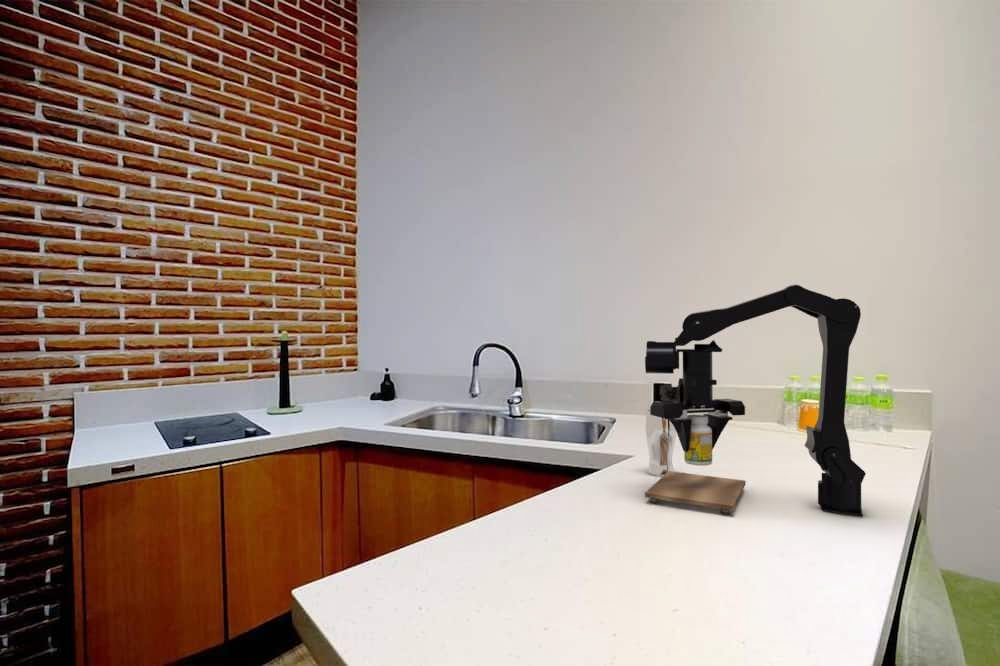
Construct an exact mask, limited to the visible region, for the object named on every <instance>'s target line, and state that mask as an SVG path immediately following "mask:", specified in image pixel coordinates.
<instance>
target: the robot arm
mask: <svg viewBox="0 0 1000 666" xmlns="http://www.w3.org/2000/svg"><path fill="white" fill-rule="evenodd" d="M790 307H792V308H794V309H796V310H798V311H799V312H802V313H804V314H806V315H808V316H810V317H811V318H812V317H813V318H815V319H816V320H817V325H818V331H819V337H820V340H821V342H822V358H821V359H822V361H821V374H820V376H821V377H820V387H819V388H820V389H819V401H818V402H819V403H818V404H819V406H818V418H817V420H816V422H815V424H814V426H810V425H807V426H806V427H805V429H806V441H805V444H804V447H805V448H807V450H808V454H809V456H810V458H812V460H813V461H814V462H815V463H817V465H819V466H820V469H821V471H822V472H821V480H820V479H819V480H817V504H818V505H819V506H820V511H824V512H829V513H836V514H844V515H852V516H857V517H862V516H863V517H864V514H863V510H862V483H863V481H864V478H865V476H866V474H867V473H866V471H865V470H864V469H862V467H860V466H859V465H858V464H857V463H856V462H855V461H854V460H852V454H851V447H850V440H849V436H848V432H847V429H846V428H847V427H846V425H845V414H846V401H847V400H846V399H847V385H848V373H849V372H848V370H849V356H850V355H849V354H850V348H851V345H852V343H853V340H854V338H855V336H856V334H857V330H858V327H859V323H860V320H861V315H862V313H861V308H860V306H859V305H858V304H857V303H856V302H855V301H853V300H851V299H848V298H844V297H842V298H836V299H835V298H833V297H832V296H828V295H825V294H822V293H820V292H816V291H814V290H810V289H808V288H805V287H803V286H801V285H799V284H790V285H788V286H786V287H784V288H782V289H780V290H776V291H774V292H770V293H767V294H764V295H761V296H759V297H756V298H752V299H749V300H746V301H743V302H740V303H737V304H734V305H732V306H729V307H724V308H719V309H718V308H717V309H711V310H710V309H709V310H704V311H697V312H692V313H690V314H689V315H687V316H686V317H685V318H684V320H683V322H682V328H681V329H682V331H681V332H680V334H679V335H678V336H677V337H674V341H655V340H648V341H646V351H645V355H646V356H644V366H645V369H644V370H645V374H663V375H664V374H668V375H669V374H671V375H674V374H675V372H674V371H675V370H676V369H677V370H680V353H682V378H681V377H680V378H679V379H678V383H677V386H672V384H671V383H670V384H667V383H666V384H665V383H664V384H661V385H660V386H659V396H660V400H661V401H660V400H656V401H655V400H654V401H653V402H652V404H651V405H650V408H649V409H650V415H653V416H657V417H661V418H665V419H667V420H669V421H670V422H671V423H672V424H673V426H674V428H675V430H676V436H677V437H678V440H679V442H680V445H681V448H682V451H683V452H684V451H685V452H688V449H689V444H690V434H691V423H692V419H688V418H687V416H688V414H700V413H701V414H702V413H703V414H702V415H705V416H708V424H707V426H709V427H710V428H711V429H712V451H713V450H714V447H716V444H717V442H718V440H719V438H720V436H721V434H722V432H723V431H724V429H725V428H726V426H727V425H728V423H729V421H733V417H732V416H745V415H746V405H745V404H744V402H743V401H742V400H737V399H732V398H731V399H730V398H716V399H715V398H714V396H713V391H714V390H713V388H714V387H713V386H717V385H718V384H717V382H718V381H717V379H713V353H722V352H723V348H722V347H721V346H719V345H718V344H717V343H716V341H715V340H713V339H712V340H711V341H710V342H709V343H695V344H694V345H693V346H694V347H693V348H689V349H688V348H682V349H681V348H677V347H681V346H682V347H684V346H686V345H688V344H689V343H691V342H692V341H693V342H699V341H704V340H706V339H708V338H711V337H713V336H714V335H716V334H717V333H720V332H722V331H723V330H726V329H727V328H730V327H731V326H733V325H735V324H739V323H742V322H745V321H748V320H751V319H755V318H757V317H760V316H764V315H766V314H771V313H773V312H776V311H779V310H782V309H783V310H784V309H786V308H790ZM713 398H714V399H713ZM729 413H730V415H732V416H729Z"/></svg>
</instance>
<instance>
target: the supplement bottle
mask: <svg viewBox="0 0 1000 666" xmlns="http://www.w3.org/2000/svg"><path fill="white" fill-rule="evenodd" d="M687 418H688V419H692V423H691V434H690V444H689V449H688V452H685V451H683V453H684V456H683V457H684V462H685V463H686V464H687V465H691V466H701V467H702V466H705V467H706V466H710V465H712V464H713V450H712V429H711V428H710V427H709V426H707V424H708V416H705V415H703V414H689V415H688V414H687Z"/></svg>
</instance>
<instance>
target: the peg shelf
mask: <svg viewBox="0 0 1000 666" xmlns="http://www.w3.org/2000/svg"><path fill="white" fill-rule="evenodd" d="M746 482H747V481H746V480H744V479H735V478H727V477H719V476H712V475H711V476H710V475H704V474H697V473H696V474H695V473H687V472H679V471H674V472H673V471H668V472H667V473H666V474H665V475H664V476H661V477H660V478H659V479H658V480H657V481H656V482H655V483H653V485H652V486H651V487H649V488H648V489H647V490H646V491H645V492H644V497H645V498H647V499H648V498H649V504H654V505H655V504H656V505H659V504H660V500H662V501H668V502H675V503H676V502H677V503H682V504H687V505H696V506H703V507H707V508H708V507H709V508H715V509H719V510H720V511H719V512H720V514H721V515H724V516H730V515H731V513H732V511H734V509H735V507H736V505H737V503H738V501H739V499H740V497H741V495H742V493H743V491H744V489H745V486H746Z"/></svg>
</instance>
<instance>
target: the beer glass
mask: <svg viewBox="0 0 1000 666" xmlns="http://www.w3.org/2000/svg"><path fill="white" fill-rule="evenodd" d="M645 436H646V442H647V449H648V456H649V458H648V459H649V460H648V461H649V462H648V467H647V473H648V474H649V475H651V476H656V477H663V476H664V475H665V474H666V473H667V472H668V471H673V472H675V470H674V469H675V468H674V465H673V464H674V463H673V456H674V455H673V454H674V449H675V443H676V437H677V432H676V430H675V428H674V426H673V424H672V423H671V422H670V421H669V420H667V419H665V418H661V417H657V416H653V415H650V408H648V409H646V416H645Z"/></svg>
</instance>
